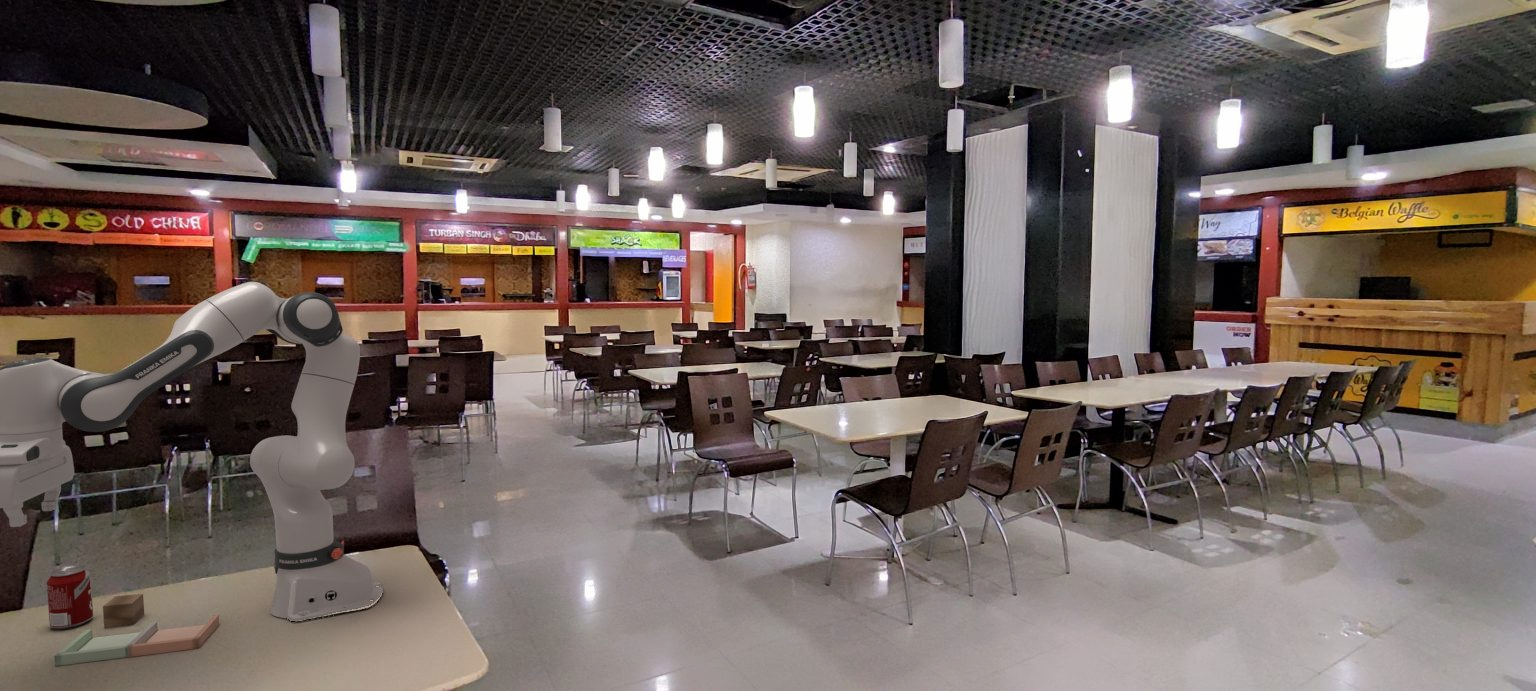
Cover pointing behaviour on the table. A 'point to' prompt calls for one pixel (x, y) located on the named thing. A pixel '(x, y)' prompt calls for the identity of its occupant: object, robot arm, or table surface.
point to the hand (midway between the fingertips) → (34, 517)
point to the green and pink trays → (134, 643)
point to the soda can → (69, 597)
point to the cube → (123, 610)
